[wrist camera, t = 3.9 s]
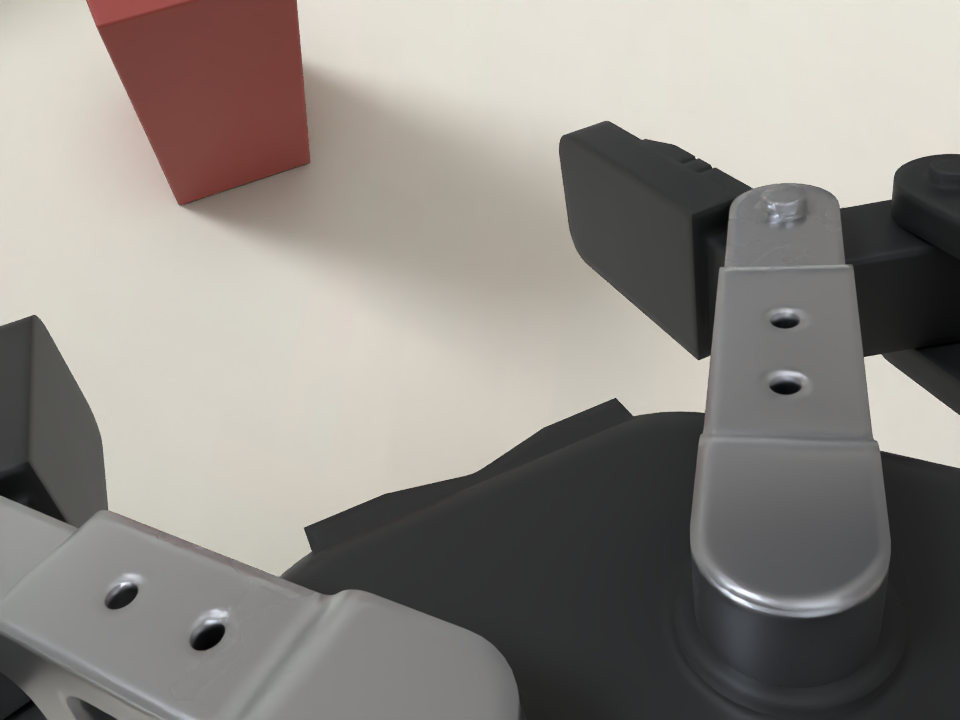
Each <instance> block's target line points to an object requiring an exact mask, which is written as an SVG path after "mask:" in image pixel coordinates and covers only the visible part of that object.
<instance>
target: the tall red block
mask: <svg viewBox="0 0 960 720" xmlns="http://www.w3.org/2000/svg"><path fill="white" fill-rule="evenodd" d="M86 1H87V4H88V6H89V9H90V11H91V14H92V17H93V19H94V22H95V24H96V27H97V29H98V31H99V33H100V35H101V38H102V40H103V42H104V44H105V46H106V48H107V51H108V53H109V55H110V57H111V59H112V61H113V64H114V66H115V68H116V70H117V72H118V74H119V77H120V79H121V81H122V83H123V85H124V87H125V90H126V92H127V94H128V96H129V98H130V100H131V103H132V105H133V107H134V109H135V111H136V113H137V116H138V118H139V120H140V122H141V124H142V126H143V129H144V131H145V133H146V135H147V137H148V139H149V142H150V144H151V146H152V148H153V150H154V152H155V155H156V157H157V159H158V161H159V163H160V165H161V168H162V170H163V172H164V174H165V176H166V178H167V181H168V183H169V185H170V187H171V189H172V191H173V194H174V196H175V198H176V200H177V202H178V204H179V205H182V204H185V203H188V202H191V201H194V200H197V199H201V198H204V197H207V196H210V195H213V194H216V193H219V192H222V191H225V190H228V189H231V188H234V187H237V186H240V185H243V184H246V183H249V182H252V181H255V180H258V179H261V178H264V177H267V176H271V175H274V174H277V173H280V172H283V171H286V170H289V169H292V168H295V167H298V166H301V165H304V164H307V163H309V162H310V150H309V138H308V127H307V115H306V104H305V92H304V80H303V69H302V57H301V46H300V34H299V22H298V11H297V0H86Z"/></svg>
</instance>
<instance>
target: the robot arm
mask: <svg viewBox="0 0 960 720" xmlns="http://www.w3.org/2000/svg"><path fill="white" fill-rule="evenodd" d="M559 155H560V163H561V170H562V178H563V185H564V193H565V200H566V207H567V215H568V222H569V228H570V233H571V236H572V240H573V242H574V245H575V247H576V249H577V251H578V253H579V255H580V256H581V258H582V259H583V260H584V262H585V263H586V264H588V265H589V266H590V267H591V268H592V269H593V270H595V271H596V272H597V273H598V274H599V275H600V276H601V277H603V278H604V279H605V280H606V281H607V282H608V283H610V284H611V285H612V286H613V287H614V288H615V289H616V290H618V291H619V292H620V293H621V294H622V295H623V296H625V297H626V298H627V299H628V300H629V301H630V302H632V303H633V304H634V305H635V306H636V307H637V308H638V309H640V310H641V311H642V312H643V313H644V314H645V315H647V316H648V317H649V318H650V319H651V320H652V321H654V322H655V323H656V324H657V325H658V326H659V327H660V328H662V329H663V330H664V331H665V332H666V333H667V334H669V335H670V336H671V337H672V338H673V339H674V340H676V341H677V342H678V343H679V344H680V345H681V346H682V347H684V348H685V349H686V350H687V351H688V352H689V353H691V354H692V355H693V356H694V357H695V358H696V359H697V360H701V359H703V358H705V357H708V356H710V355H711V359H710V369H709V379H708V389H707V400H706V410H705V413H700V412H660V413H652V414H644V415H638V416H632V414H631V413H630V412H629V411H628V410H627V409H626V408H625V407H624V406H623V405H622V404H621V403H620V402H619V401H618V400H617V399H616V398H614V399H612V400H609V401H607V402H605V403H602V404H600V405H597V406H595V407H593V408H590V409H588V410H585V411H583V412H581V413H578V414H576V415H573V416H571V417H569V418H566V419H564V420H561V421H559V422H557V423H554V424H552V425H549V426H547V427H545V428H543V429H541V430H540V431H538V432H537V433H535V434H534V435H532V436H531V437H529V438H528V439H526V440H525V441H523V442H522V443H520V444H519V445H517V446H516V447H514V448H513V449H511V450H510V451H508V452H507V453H505V454H504V455H502V456H501V457H499V458H498V459H496V460H495V461H493V462H492V463H490V464H489V465H487V466H486V467H484V468H483V469H481V470H479V471H478V472H476V473H473V474H471V475H467V476H463V477H459V478H454V479H450V480H445V481H441V482H436V483H432V484H427V485H423V486H418V487H414V488H409V489H405V490H401V491H396V492H392V493H387V494H384V495H381V496H379V497H377V498H374V499H372V500H369V501H367V502H365V503H362V504H360V505H357V506H355V507H353V508H350V509H348V510H345V511H343V512H341V513H338V514H336V515H333V516H331V517H329V518H326V519H324V520H321V521H319V522H317V523H314V524H312V525H309V526H307V527H305V528H304V530H305V533H306V535H307V538H308V541H309V544H310V547H311V550H312V552H311V553H309V554H308V555H306V556H305V557H304V558H302V559H301V560H299V561H298V562H297V563H295V564H294V565H293V566H292V567H291V568H289V569H288V570H287V571H286V572H284V573H283V574H282V575H281V576H280V577H277V576H274V575H272V574H269V573H267V572H264V571H262V570H259V569H257V568H254V567H251V566H249V565H246V564H244V563H241V562H239V561H236V560H234V559H231V558H229V557H226V556H224V555H221V554H218V553H216V552H213V551H211V550H208V549H206V548H203V547H201V546H198V545H196V544H193V543H191V542H188V541H185V540H183V539H180V538H178V537H175V536H173V535H170V534H168V533H165V532H163V531H160V530H158V529H155V528H152V527H150V526H147V525H145V524H142V523H140V522H137V521H135V520H132V519H130V518H127V517H125V516H122V515H119V514H117V513H114V512H111V511H108V502H107V491H106V480H105V469H104V458H103V447H102V440H101V435H100V432H99V429H98V426H97V423H96V420H95V418H94V415H93V413H92V411H91V408H90V406H89V404H88V402H87V401H86V399H85V397H84V395H83V393H82V392H81V390H80V388H79V386H78V384H77V382H76V381H75V379H74V377H73V375H72V373H71V372H70V370H69V368H68V366H67V364H66V363H65V361H64V359H63V357H62V355H61V354H60V352H59V350H58V348H57V346H56V345H55V343H54V341H53V339H52V337H51V336H50V334H49V332H48V330H47V329H46V327H45V325H44V324H43V322H42V321H41V320H40V319H39V318H38V317H37V316H36V315H32V316H29V317H26V318H24V319H21V320H18V321H15V322H12V323H9V324H6V325H3V326H0V720H960V468H955V467H951V466H946V465H942V464H937V463H933V462H928V461H924V460H919V459H915V458H910V457H906V456H902V455H897V454H893V453H888V452H884V451H880V450H879V445H878V442H877V441H875V440H874V439H873V435H872V427H871V419H870V410H869V401H868V392H867V383H866V375H865V366H864V357H866V356H872V355H878V354H882V355H883V357H884V358H885V359H886V360H887V361H889V362H890V363H891V364H892V365H894V366H895V367H896V368H898V369H899V370H900V371H902V372H903V373H904V374H906V375H907V376H908V377H910V378H911V379H912V380H914V381H915V382H916V383H918V384H919V385H920V386H922V387H923V388H924V389H926V390H927V391H928V392H930V393H931V394H932V395H934V396H935V397H936V398H938V399H939V400H940V401H942V402H943V403H944V404H946V405H947V406H948V407H950V408H951V409H952V410H954V411H955V412H956V413H958V414H959V415H960V154H942V155H932V156H927V157H922V158H919V159H915V160H912V161H910V162H908V163H906V164H904V165H902V166H901V167H900V168H899V169H898V170H897V171H896V173H895V176H894V183H893V194H892V200H887V201H881V202H876V203H870V204H864V205H859V206H853V207H848V208H840V207H839V202H838V200H837V199H836V197H835V196H834V195H832V194H831V193H830V192H828V191H826V190H824V189H821V188H819V187H815V186H811V185H805V184H796V183H781V184H772V185H766V186H762V187H758V188H755V189H753V188H751V187H749V186H748V185H746V184H744V183H742V182H740V181H739V180H737V179H735V178H733V177H731V176H730V175H728V174H726V173H724V172H722V171H721V170H719V169H717V168H713V169H712V167H711V165H710V164H708V163H706V162H704V161H703V160H701V159H695V156H694V155H692V154H690V153H688V152H686V151H685V150H683V149H681V148H679V147H677V146H676V145H672V144H667V143H662V142H657V141H652V140H647V139H644V140H641V139H639V138H637V137H636V136H634V135H632V134H630V133H629V132H627V131H625V130H623V129H622V128H620V127H618V126H617V125H615V124H613V123H611V122H609V121H604V122H601V123H598V124H595V125H592V126H589V127H586V128H583V129H580V130H577V131H575V132H572V133H569V134H566V135H563V136H562V138H561V140H560V144H559Z"/></svg>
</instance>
